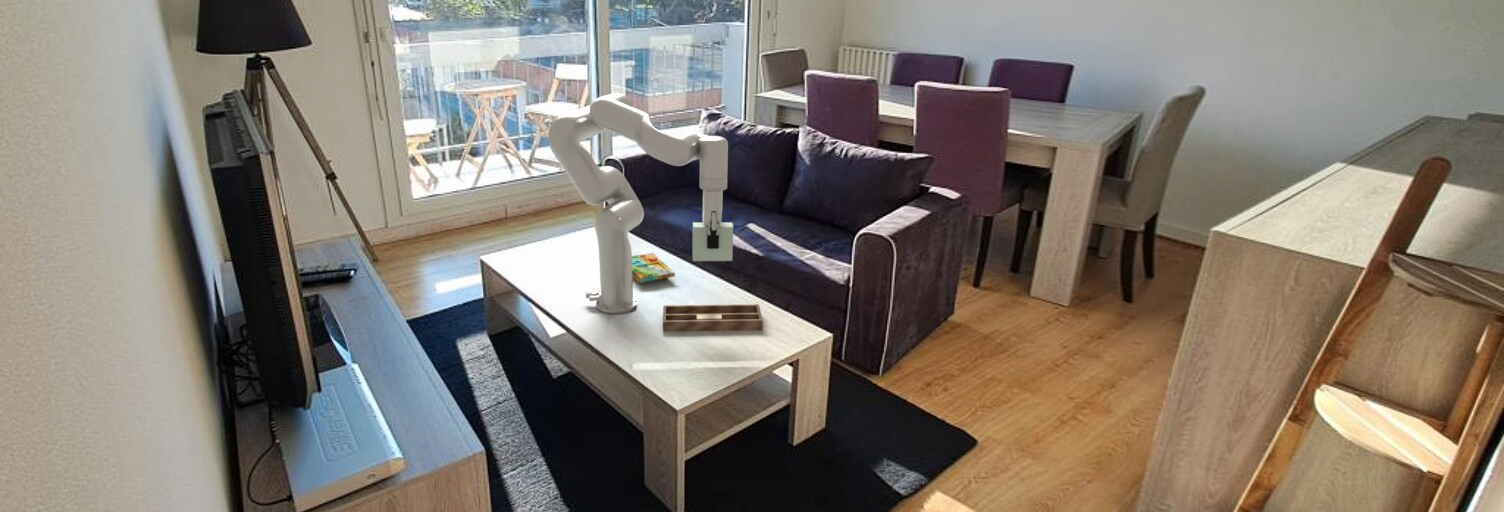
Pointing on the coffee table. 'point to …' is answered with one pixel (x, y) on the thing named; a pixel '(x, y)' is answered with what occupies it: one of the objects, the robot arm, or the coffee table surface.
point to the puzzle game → (649, 268)
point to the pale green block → (701, 243)
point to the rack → (731, 320)
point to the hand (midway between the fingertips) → (712, 244)
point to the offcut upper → (709, 317)
